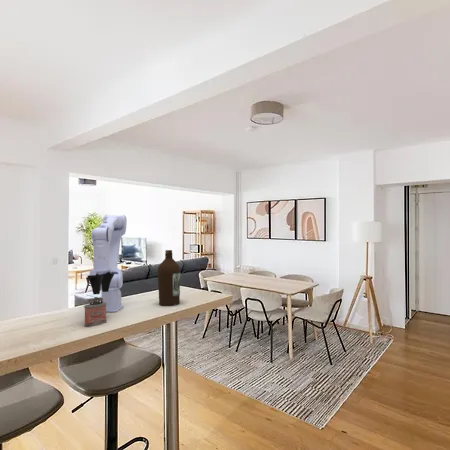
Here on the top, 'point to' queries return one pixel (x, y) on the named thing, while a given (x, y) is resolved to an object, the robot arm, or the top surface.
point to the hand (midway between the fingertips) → (101, 293)
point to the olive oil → (169, 281)
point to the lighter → (95, 312)
